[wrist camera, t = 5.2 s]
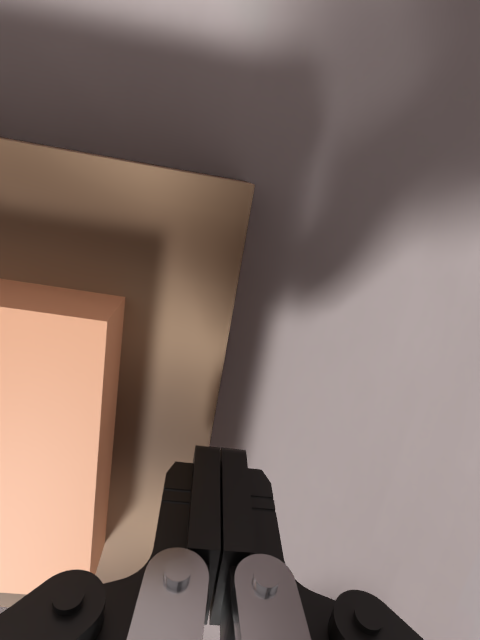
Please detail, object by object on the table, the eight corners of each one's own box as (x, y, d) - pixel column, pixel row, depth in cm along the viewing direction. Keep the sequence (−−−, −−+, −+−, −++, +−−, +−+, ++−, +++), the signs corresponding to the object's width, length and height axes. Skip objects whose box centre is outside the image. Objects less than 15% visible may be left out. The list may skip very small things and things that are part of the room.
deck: (-196, 101, 13) (-366, 73, 9) (245, 181, 14) (255, 184, 11) (-133, 504, 18) (-224, 591, 14) (186, 532, 20) (179, 618, 16)
